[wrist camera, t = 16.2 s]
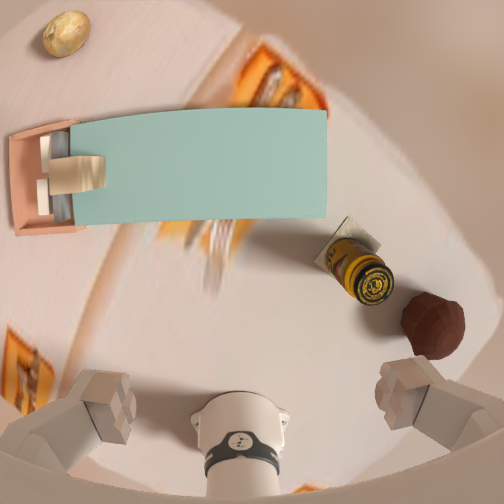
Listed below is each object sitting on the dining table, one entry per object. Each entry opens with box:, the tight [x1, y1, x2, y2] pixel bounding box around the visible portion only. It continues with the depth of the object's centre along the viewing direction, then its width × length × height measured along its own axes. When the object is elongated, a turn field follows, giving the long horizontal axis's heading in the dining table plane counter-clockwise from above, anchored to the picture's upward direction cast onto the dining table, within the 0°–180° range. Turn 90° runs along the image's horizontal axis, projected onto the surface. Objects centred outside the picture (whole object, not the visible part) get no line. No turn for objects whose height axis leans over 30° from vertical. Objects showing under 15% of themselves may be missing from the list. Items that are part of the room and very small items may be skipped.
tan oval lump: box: [43, 11, 90, 57], centre depth 30 cm, size 8×8×7 cm
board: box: [70, 108, 327, 226], centre depth 39 cm, size 14×34×4 cm, turn 90°
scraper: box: [49, 131, 106, 223], centre depth 32 cm, size 12×7×8 cm, turn 179°
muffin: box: [401, 292, 465, 360], centre depth 44 cm, size 12×11×10 cm
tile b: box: [40, 131, 64, 173], centre depth 35 cm, size 5×5×2 cm
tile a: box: [37, 178, 54, 215], centre depth 37 cm, size 5×5×2 cm
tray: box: [9, 120, 86, 236], centre depth 38 cm, size 16×12×4 cm
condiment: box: [314, 217, 394, 306], centre depth 39 cm, size 7×8×12 cm
